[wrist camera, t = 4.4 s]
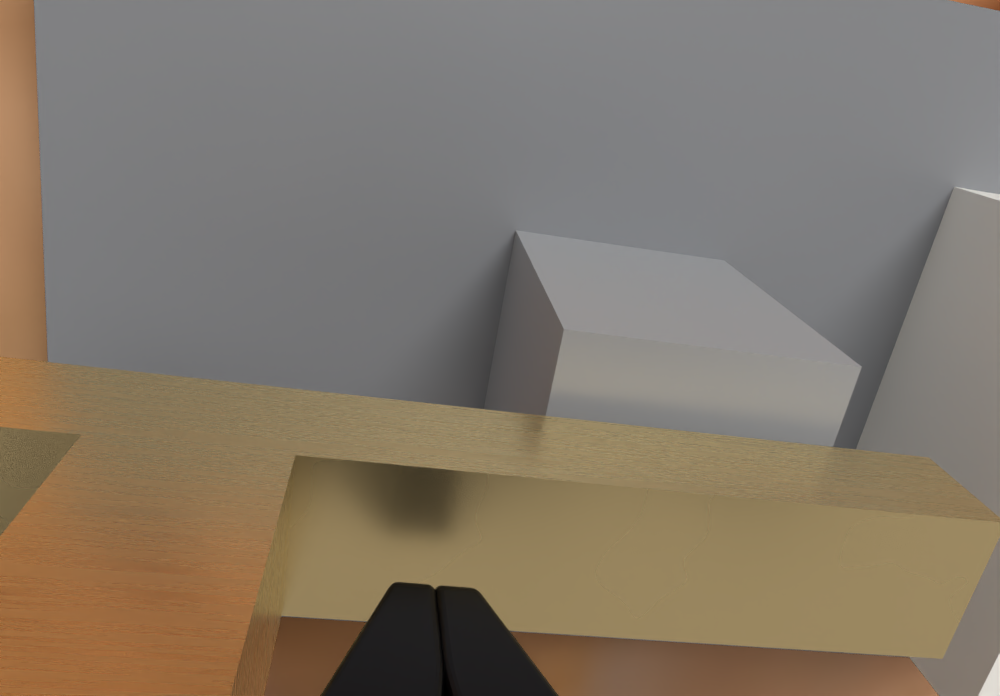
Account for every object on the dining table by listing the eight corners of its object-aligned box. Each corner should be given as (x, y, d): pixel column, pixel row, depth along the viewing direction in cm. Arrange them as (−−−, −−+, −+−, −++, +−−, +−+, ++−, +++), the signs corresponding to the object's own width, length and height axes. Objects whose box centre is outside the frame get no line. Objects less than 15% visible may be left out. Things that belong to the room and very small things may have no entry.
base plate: (1047, 640, 21) (1273, 860, 15) (76, 571, 17) (-82, 829, 12) (1336, 88, 16) (1823, 124, 10) (55, -176, 12) (-237, -336, 7)
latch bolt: (878, 580, 11) (1166, 930, 7) (-47, 505, 9) (-438, 917, 5) (928, 457, 11) (1286, 760, 6) (-61, 349, 9) (-530, 676, 4)
